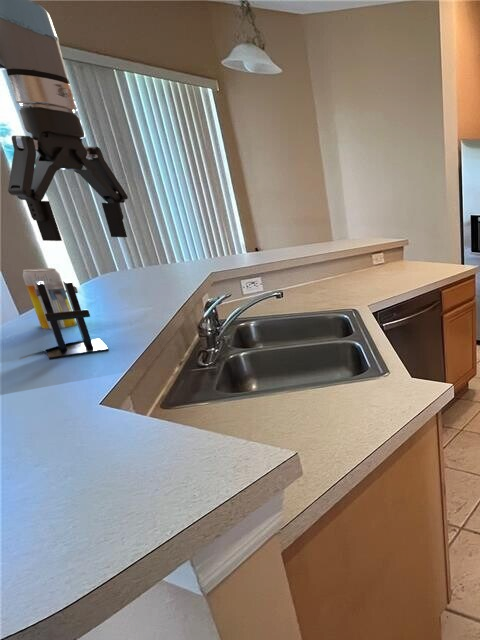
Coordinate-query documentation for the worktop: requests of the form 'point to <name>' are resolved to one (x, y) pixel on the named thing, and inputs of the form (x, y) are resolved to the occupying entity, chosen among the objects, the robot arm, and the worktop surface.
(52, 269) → the yellow pill bottle
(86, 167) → the robot arm
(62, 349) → the black stand frame
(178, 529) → the worktop surface
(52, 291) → the lever
